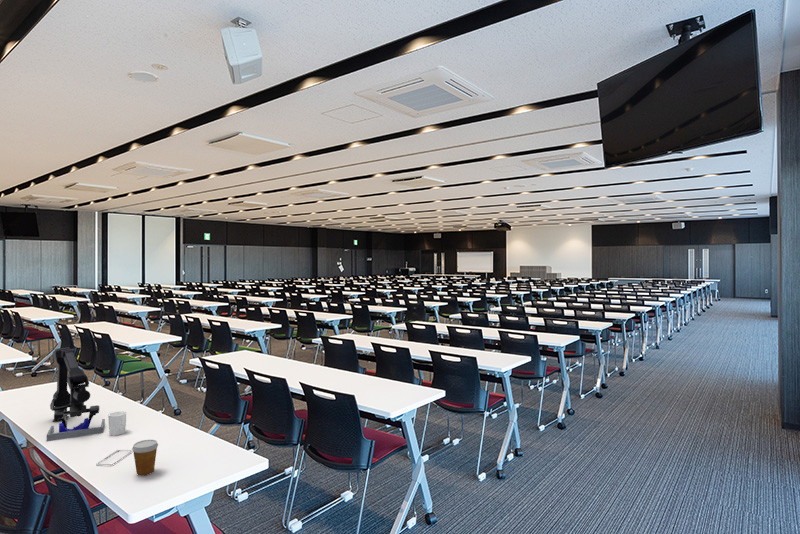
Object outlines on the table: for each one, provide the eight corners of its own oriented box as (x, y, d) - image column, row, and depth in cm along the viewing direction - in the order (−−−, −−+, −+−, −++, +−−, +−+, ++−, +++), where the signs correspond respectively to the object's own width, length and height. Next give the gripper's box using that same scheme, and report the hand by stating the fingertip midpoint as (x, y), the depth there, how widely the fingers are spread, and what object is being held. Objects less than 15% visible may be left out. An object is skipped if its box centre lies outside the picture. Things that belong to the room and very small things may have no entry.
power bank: (112, 467, 201) (133, 452, 216) (112, 464, 201) (133, 449, 216) (95, 467, 201) (117, 452, 216) (95, 463, 201) (117, 449, 216)
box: (51, 431, 240) (51, 425, 240) (104, 424, 251) (104, 418, 251) (46, 441, 228) (46, 435, 228) (102, 432, 239) (102, 426, 239)
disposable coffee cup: (138, 467, 199) (138, 439, 199) (162, 466, 200) (162, 438, 200) (127, 478, 190) (127, 448, 190) (152, 477, 191) (152, 447, 190)
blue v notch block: (87, 427, 244) (87, 416, 243) (88, 431, 241) (89, 420, 240) (58, 433, 236) (58, 421, 235) (59, 437, 233) (60, 426, 232)
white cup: (130, 431, 240) (129, 412, 240) (115, 437, 233) (114, 417, 233) (119, 429, 244) (119, 410, 243) (104, 434, 236) (104, 414, 236)
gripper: (51, 405, 228) (52, 437, 229) (97, 399, 237) (98, 430, 238) (55, 399, 238) (55, 430, 238) (99, 394, 247) (99, 423, 247)
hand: (77, 428), depth 240 cm, fingers open, 9 cm apart
